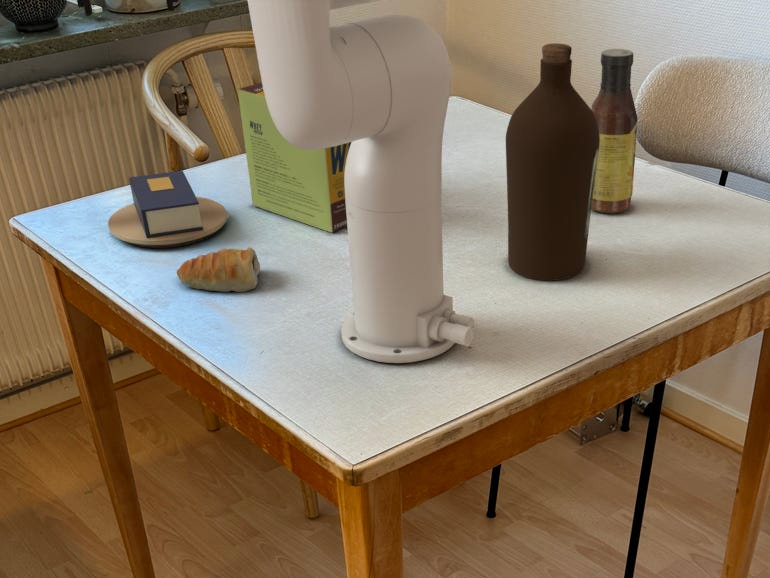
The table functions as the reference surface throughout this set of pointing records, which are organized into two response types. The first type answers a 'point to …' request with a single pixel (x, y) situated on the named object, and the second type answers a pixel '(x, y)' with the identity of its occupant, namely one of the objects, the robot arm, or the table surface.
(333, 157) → the protein box
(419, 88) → the robot arm
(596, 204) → the sauce bottle
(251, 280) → the pastry
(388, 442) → the table surface
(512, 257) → the olive oil
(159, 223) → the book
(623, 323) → the table surface
